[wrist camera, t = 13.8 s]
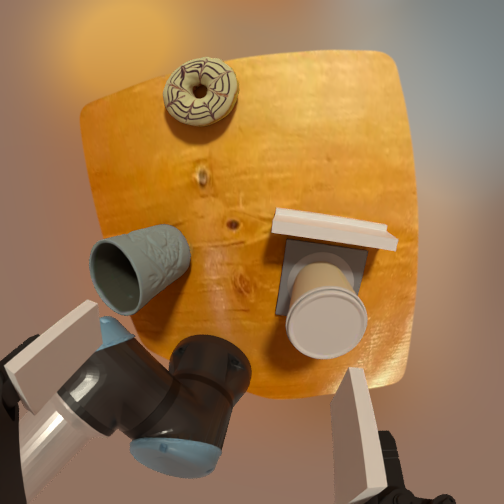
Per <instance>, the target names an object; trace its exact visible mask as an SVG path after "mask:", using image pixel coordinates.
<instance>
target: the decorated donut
mask: <svg viewBox="0 0 504 504" xmlns="http://www.w3.org/2000/svg"><path fill="white" fill-rule="evenodd" d="M202 85H205V86H206V87H207V94H206V96H205V97H204V98H201V99H199V98H195V96H194V91H195V89H196V88H197V87H199V86H202ZM238 94H239V82H238V80H237V78H236V74H235V72H234V70H233V69H232V68H231V67H229V66H228V65H227V64H225V63H224V62H223V61H222V60H221V59H218V58H210V57H203V58H200V59H194V60H191V61H188V62H186V63H184V64H183V65H181V66H180V67H179V68H177V69H176V70H175V71H174V72H173V73H172V74H171V76H170V77H169V79H168V80H167V82H166V85H165V87H164V91H163V99H164V104H165V107H166V109H167V110H168V112H169V114H170V115H171V116H172V117H174V118H175V119H177V120H178V121H179V122H182V123H184V124H187V125H191V126H199V127H200V126H202V127H203V126H208V125H211V124H213V123H216V122H218V121H219V120H221V119H223V118H224V117H226V116H227V115H228V114H229V113H230V112H231V110H232V109H233V107H234V105H235V102H236V101H237V97H238Z"/></svg>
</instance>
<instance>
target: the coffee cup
mask: <svg viewBox="0 0 504 504" xmlns="http://www.w3.org/2000/svg"><path fill="white" fill-rule="evenodd" d="M366 326H367V312H366V309H365V306H364V304H363V303H362V301H361V300H360V298H359V297H358V296H357V295H356V293H355V291H354V290H353V288H352V286H351V285H350V283H349V282H348V280H347V279H346V277H345V276H344V274H343V273H342V271H341V270H340V269H339V268H338V267H337V266H336V265H334V264H332V263H330V262H326V261H316V262H312V263H310V264H308V265H306V266H305V267H303V268H302V269H301V270H300V271H299V273H298V274H297V276H296V278H295V281H294V286H293V291H292V296H291V301H290V307H289V312H288V314H287V318H286V332H287V335H288V338H289V340H290V341H291V343H292V344H293V345H294V347H295V348H296V349H297V350H299V351H300V352H301V353H303V354H304V355H306V356H309V357H312V358H316V359H331V358H336V357H339V356H341V355H344V354H346V353H347V352H349V351H350V350H352V349H353V348H354V347H355V346H356V345H357V344H358V343H359V342H360V340H361V339H362V337H363V335H364V332H365V330H366Z"/></svg>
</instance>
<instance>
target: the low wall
mask: <svg viewBox="0 0 504 504" xmlns="http://www.w3.org/2000/svg"><path fill="white" fill-rule="evenodd" d="M386 230H387V225H385V224H381V223H375V222H369V221H363V220H358V219H352V218H346V217H339V216H333V215H327V214H320V213H313V212H306V211H299V210H292V209H285V208H276V214H275V217H274V219H273V225H272V233H278V234H285V235H292V236H299V237H306V238H313V239H320V240H327V241H334V242H341V243H347V244H354V245H360V246H367V247H373V248H379V249H386V250H392V251H396V247H397V243H398V239H397V238H395V237H394V236H393V235H391V234H390V233H389V232H387V231H386Z"/></svg>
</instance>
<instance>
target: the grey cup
mask: <svg viewBox="0 0 504 504" xmlns="http://www.w3.org/2000/svg"><path fill="white" fill-rule="evenodd" d="M190 257H191V254H190V249H189V246H188V243H187V241H186V239H185V237H184V236H183V235H182V233H181V232H180V231H179V230H178V229H177V228H175V227H173V226H171V225H166V224H161V225H156V226H152V227H148V228H145V229H140V230H136V231H132V232H130V233H129V234H123V235H120V236H115V237H111V238H107V239H102V240H100V241H98V242H97V243H96V244H95V245H94V246H93V248H92V250H91V254H90V259H89V269H90V274H91V278H92V282H93V284H94V287H95V289H96V291H97V293H98V294H99V296H100V297H101V299H102V300H103V302H104V303H105V304H106V305H107V306H108V307H109V308H110V309H112V310H113V311H114V312H116V313H118V314H120V315H124V316H128V315H133V314H135V313H136V312H137V311H139V310H140V309H141V308H142V307H143V306H144V305H146V304H147V303H148V302H149V301H150V300H151V299H152V298H153V297H154V296H155V295H157V294H158V293H159V292H161V291H162V290H164V289H165V288H166V287H167V285H169V284H171V283H172V282H174V281H175V280H177V279H178V278H179V277H180V276H182V275H183V274H184V273H185V271H186V270H187V269H188V267H189V264H190Z"/></svg>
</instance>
